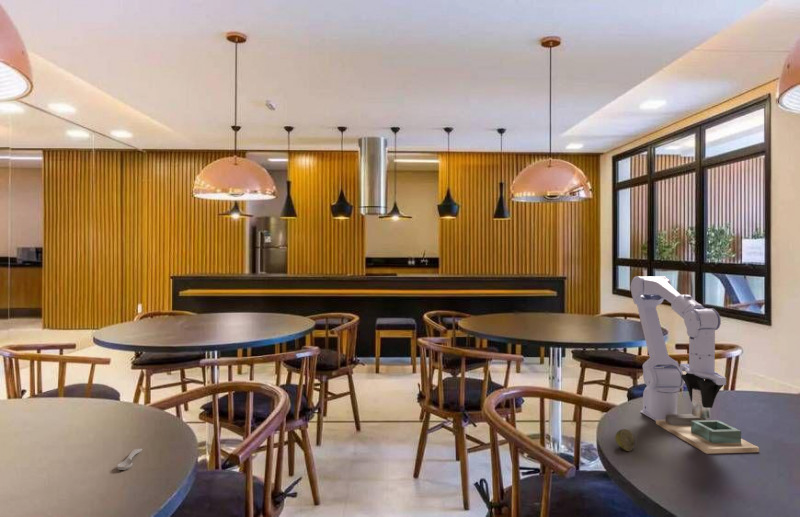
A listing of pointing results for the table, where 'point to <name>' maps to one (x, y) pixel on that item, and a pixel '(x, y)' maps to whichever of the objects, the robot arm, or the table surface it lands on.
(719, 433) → the jig
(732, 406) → the table surface
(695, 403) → the bushing
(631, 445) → the lime
